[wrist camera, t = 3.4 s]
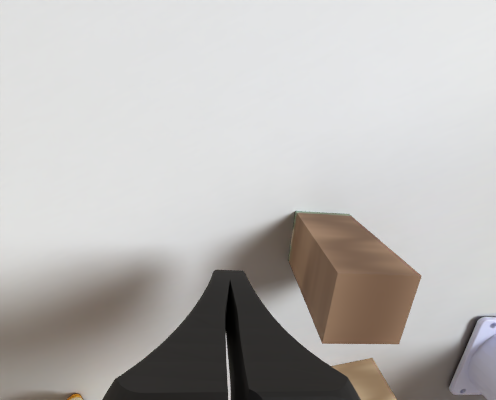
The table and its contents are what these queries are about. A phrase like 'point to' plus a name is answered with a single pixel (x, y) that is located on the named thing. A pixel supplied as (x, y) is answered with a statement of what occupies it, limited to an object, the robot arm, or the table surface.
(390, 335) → the walnut block
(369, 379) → the oak block
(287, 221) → the table surface
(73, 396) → the bird rattle
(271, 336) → the robot arm
